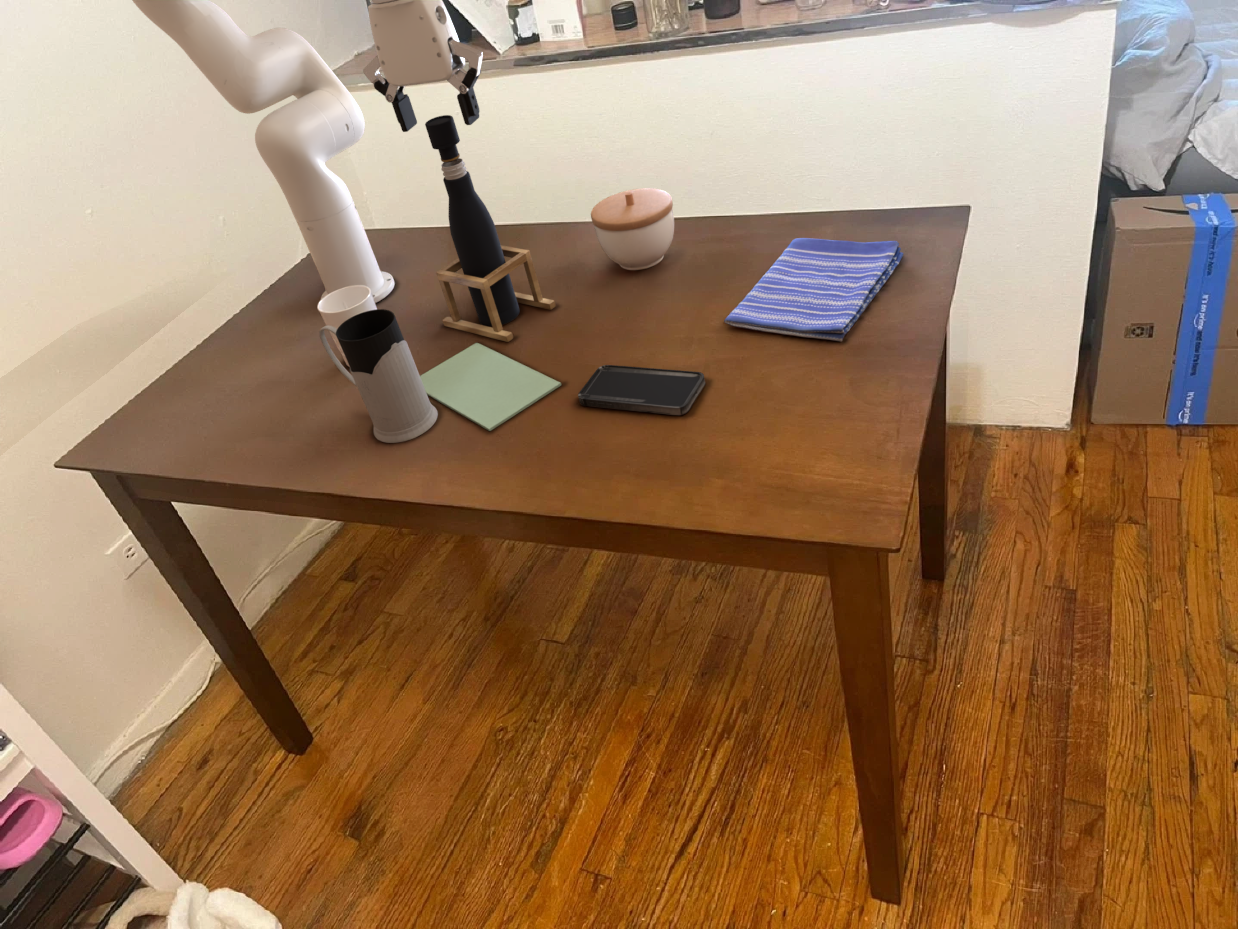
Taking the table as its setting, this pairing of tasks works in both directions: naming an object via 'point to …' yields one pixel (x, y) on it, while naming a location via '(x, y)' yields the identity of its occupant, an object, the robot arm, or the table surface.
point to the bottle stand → (490, 293)
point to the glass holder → (383, 375)
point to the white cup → (345, 307)
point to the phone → (642, 389)
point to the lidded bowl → (635, 227)
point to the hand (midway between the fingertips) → (441, 124)
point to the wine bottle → (471, 225)
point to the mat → (486, 385)
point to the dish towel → (817, 288)
